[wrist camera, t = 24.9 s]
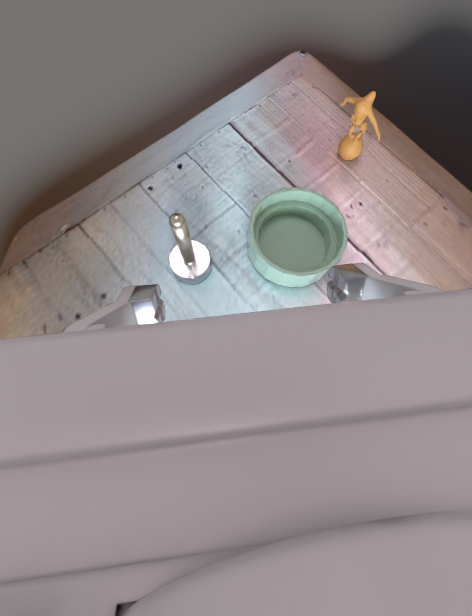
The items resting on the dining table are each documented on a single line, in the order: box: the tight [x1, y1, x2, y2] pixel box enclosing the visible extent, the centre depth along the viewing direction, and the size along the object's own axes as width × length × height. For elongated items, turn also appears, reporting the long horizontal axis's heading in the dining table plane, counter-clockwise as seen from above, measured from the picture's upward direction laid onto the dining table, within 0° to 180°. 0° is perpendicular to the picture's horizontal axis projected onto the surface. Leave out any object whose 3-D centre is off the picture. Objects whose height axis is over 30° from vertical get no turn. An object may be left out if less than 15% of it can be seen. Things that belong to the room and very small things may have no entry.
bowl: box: [247, 187, 348, 287], centre depth 41 cm, size 14×14×5 cm
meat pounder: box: [169, 213, 211, 285], centre depth 35 cm, size 6×6×14 cm
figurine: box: [338, 91, 380, 160], centre depth 42 cm, size 8×6×12 cm
